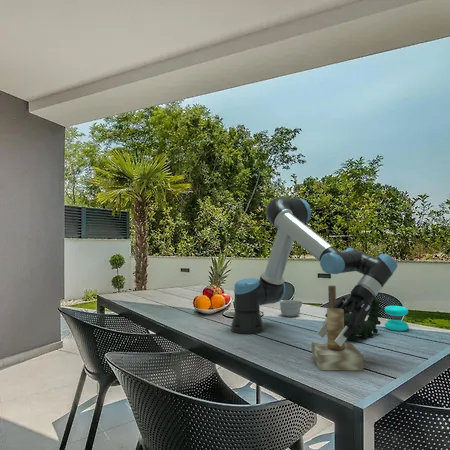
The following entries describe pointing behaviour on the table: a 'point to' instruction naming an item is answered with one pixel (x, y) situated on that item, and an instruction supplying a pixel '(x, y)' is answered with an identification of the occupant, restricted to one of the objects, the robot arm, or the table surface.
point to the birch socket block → (337, 357)
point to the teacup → (290, 307)
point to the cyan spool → (396, 324)
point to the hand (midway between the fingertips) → (328, 339)
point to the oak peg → (334, 327)
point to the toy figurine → (369, 323)
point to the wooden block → (333, 296)
